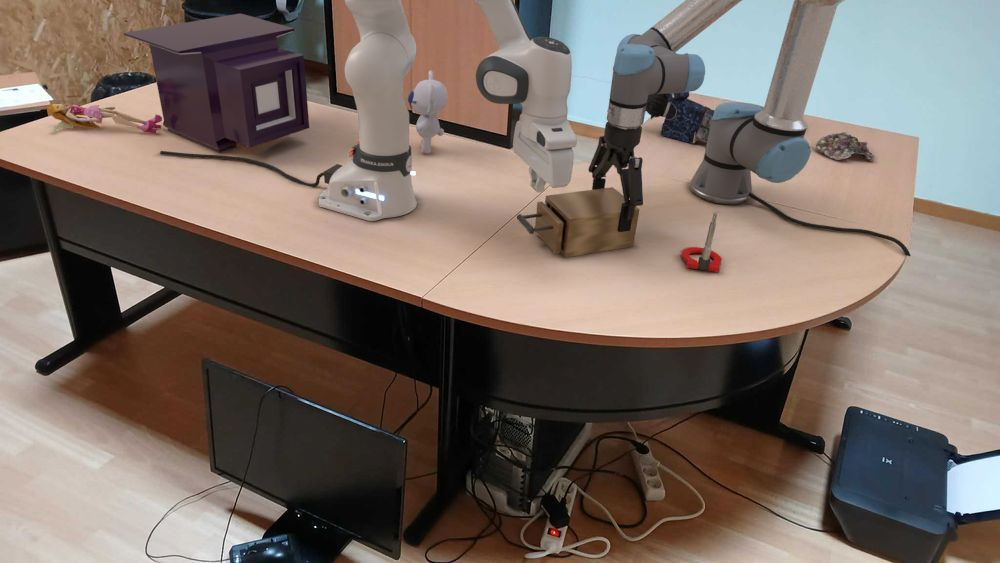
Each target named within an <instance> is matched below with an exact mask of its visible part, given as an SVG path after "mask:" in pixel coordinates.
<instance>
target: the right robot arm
mask: <svg viewBox="0 0 1000 563" xmlns="http://www.w3.org/2000/svg"><path fill="white" fill-rule="evenodd" d="M742 1H743V0H684V1H683V2H681V3H680V4H679V5H678V6H676V7H675V8H674V9H672V10H671V11H669V13H667V14H666V15H665V16H663V17H662V18H661V19H660V20H659V21H657V22H656V23H655V24H654V25H652V26H651V27H650V28H648V29H647V30H645V31H644V32H643V33H642V34H637V33H631V34H628V35H626V36H624V37H623V38H622V39H621V40H620V41H619V43H618V45H617V48H616V54H615V58H614V63H613V65H612V75H611V76H612V78H611V85H610V91H609V102H608V107H607V111H606V112H607V113H606V114H607V116H606V123H605V126H604V132H603V135H601V136H599V138H598V144H597V147H596V149H595V152H594V154H593V157H592V159H591V162H590V164H589V166H588V172H589V173H591V177H592V186H591V190H594V189H602V188H606V180H607V179H606V177H608V176H607V173H608V172H609V171H610V169H611V168H612V167H613V166H614V167H615V169H616V173H617V174H618V175H619V179H620V184H621V190H622V195H623V196H624V201H625V203H622V207H621V213H620V219H619V225H618V232H625V231H630V229H631V223H632V219H633V216H634V211H635V206H636V207H640V206H643V204H644V194H643V192H644V191H643V174H642V173H643V172H642V168H643V162H644V160H643V159H644V158H643V157H640V156H639V157H637V156H635V148H636V147H637V146H639V144H640V143H641V137H642V133H643V125H644V122H645V115H646V113H645V110H646V104H647V99H648V95H649V94H668V93H684V92H689V93H690V92H691V93H692V92H696V91H697V90H698V89H700V88H701V87H702V85H703V83H704V81H705V76H706V65H705V61H704V59H703V58H702V57H701V56H700V55H698V54H693V53H688V52H685V53H677V52H678V51H679V50H681V49H682V48H683V47H684V46H686V45H687V44H688V43H689V42H691V41H692V40H693V39H694V38H696V37H698V36H699V35H700V34H701V33H702V32H703V31H705V30H706V29H708V28H709V27H710V26H711V25H712V24H714V23H715V22H716V21H718V20H719V19H720V18H721V17H723V16H724V15H725V14H727V13H728V12H729V11H731V10H732V9H733V8H734V7H735V6H738V4H739V3H741V2H742ZM844 1H845V0H793V3H792V6H791V9H790V14H789V17H788V21H787V24H786V27H785V31H784V34H783V39H782V43H781V46H780V49H779V52H778V56H777V59H776V64H775V67H774V71H773V74H772V77H771V81H770V85H769V88H768V92H767V96H766V99H765V102H764V106H762V105H759V104H755V103H750V102H741V101H740V102H738V101H731V102H722V103H720V104H718V105H716V107H715V108H714V114H713V118H712V119H711V125H710V130H709V135H708V140H707V142H706V145H705V150H704V154H703V159H702V161H701V163H700V165H699V166H698V168H697V169H696V171H695V173H694V174H693V176H692V179H691V181H690V184H689V189H690V191H691V193H693V194H694V196H696V197H698V198H700V199H702V200H704V201H707V202H710V203H713V204H717V205H726V206H727V205H729V206H734V205H742V204H745V203H747V202H749V201H750V199H751V198H752V199H754V200H755V201H757V202H758V203H760V204H761V205H763V206H765V207H766V208H768V209H770V210H771V211H773V212H775V213H776V214H777V215H779V216H780V217H781V218H784V219H785V220H787V221H789V222H791V223H793V224H797V225H800V226H804V227H808V228H814V229H820V230H828V231H835V232H841V233H858V234H864V235H865V234H866V235H870V236H873V237H877V238H881V239H883V240H887V241H891V242H892V243H895V245H898V246H899V247H900V249H901V250H902V251H903V253H904V255H905V256H907V257H911V256H912V255H911V253H910V251H909V249H908V247H907V246H906V245H905V244H904V243H903V242H902V241H901V240H899V239H897V238H895V237H893V236H891V235H887V234H884V233H880V232H876V231H873V230H868V229H864V228H863V229H862V228H852V227H851V228H849V227H838V226H832V225H824V224H817V223H811V222H806V221H802V220H799V219H797V218H794V217H791V216H790V215H788V214H785V213H784V212H783V211H781V210H780V209H778V208H776V207H775V206H773V205H772V204H770V203H769V202H767V201H766V200H764V199H762V198H761V197H758V196H757V195H756V194H753V193H752V192H753V186H752V174H751V173H754V174H755V175H756V176H757V177H758V178H760V179H763V180H766V181H768V182H769V183H772V184H773V183H774V184H780V183H785V182H788V181H790V180H792V179H793V178H795V176H797V175H798V174H799V173H800V172H801V171H802V170H804V168H805V167H806V165H807V164H808V162H809V160H810V157H811V153H812V152H811V151H812V149H811V148H812V147H811V146H810V143H809V141H808V140H807V139H806V138H805V135H806V131H807V129H808V123H807V122H806V120H805V119H804V115H805V110H806V108H807V104H808V102H809V99H810V96H811V92H812V89H813V86H814V82H815V79H816V76H817V73H818V70H819V66H820V63H821V60H822V56H823V54H824V50H825V47H826V44H827V41H828V37H829V34H830V31H831V27H832V24H833V21H834V18H835V15H836V11H837V8H838V6H839V5H840V4H842V3H843V2H844Z"/></svg>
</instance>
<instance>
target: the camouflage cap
mask: <svg viewBox="0 0 1000 563" xmlns="http://www.w3.org/2000/svg"><path fill="white" fill-rule="evenodd" d="M815 150H816V151H817V152H818V153H824V155H825V156H827V157H828V158H830V159H832V160H835V161H839V160H840V161H841V160H844V159H848V158H851V157H852V155H853V154H854V155H857V154H859V155H860V156H861V158H863V159H865V160H866V161H871V162H874V160H875V159H874V158H875V155H874V154H873V153H872V152H871V151H870V149H869V147H868V142H867V141H859V139H858V137H855V136H853V135H852V134H851V133H849V132H848V131H846V132H844V131H843V132H836V133H830V134H827V135H826V136H822V137H820V138H819V140H818V141H817V142H816V144H815ZM873 157H874V158H873Z"/></svg>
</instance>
